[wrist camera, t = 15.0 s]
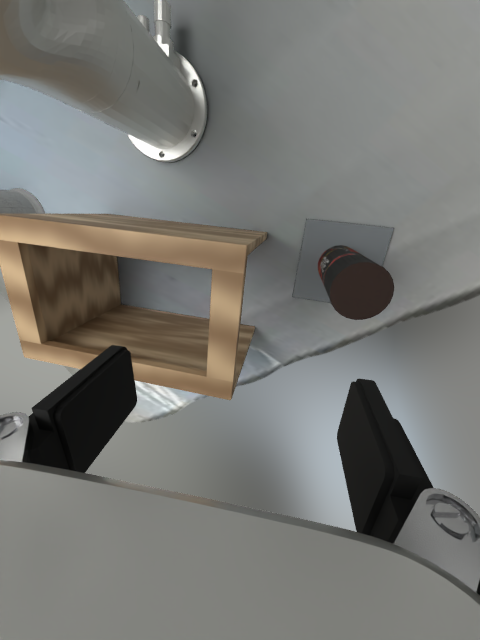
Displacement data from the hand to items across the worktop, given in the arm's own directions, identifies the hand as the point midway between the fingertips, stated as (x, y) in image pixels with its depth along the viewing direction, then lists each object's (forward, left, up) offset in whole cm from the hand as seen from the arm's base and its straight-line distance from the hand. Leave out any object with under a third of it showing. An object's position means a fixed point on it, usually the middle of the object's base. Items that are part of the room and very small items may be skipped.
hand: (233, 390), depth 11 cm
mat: (-1, +9, -33) cm, 35 cm away
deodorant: (-1, +9, -33) cm, 34 cm away
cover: (+4, -16, -33) cm, 37 cm away
